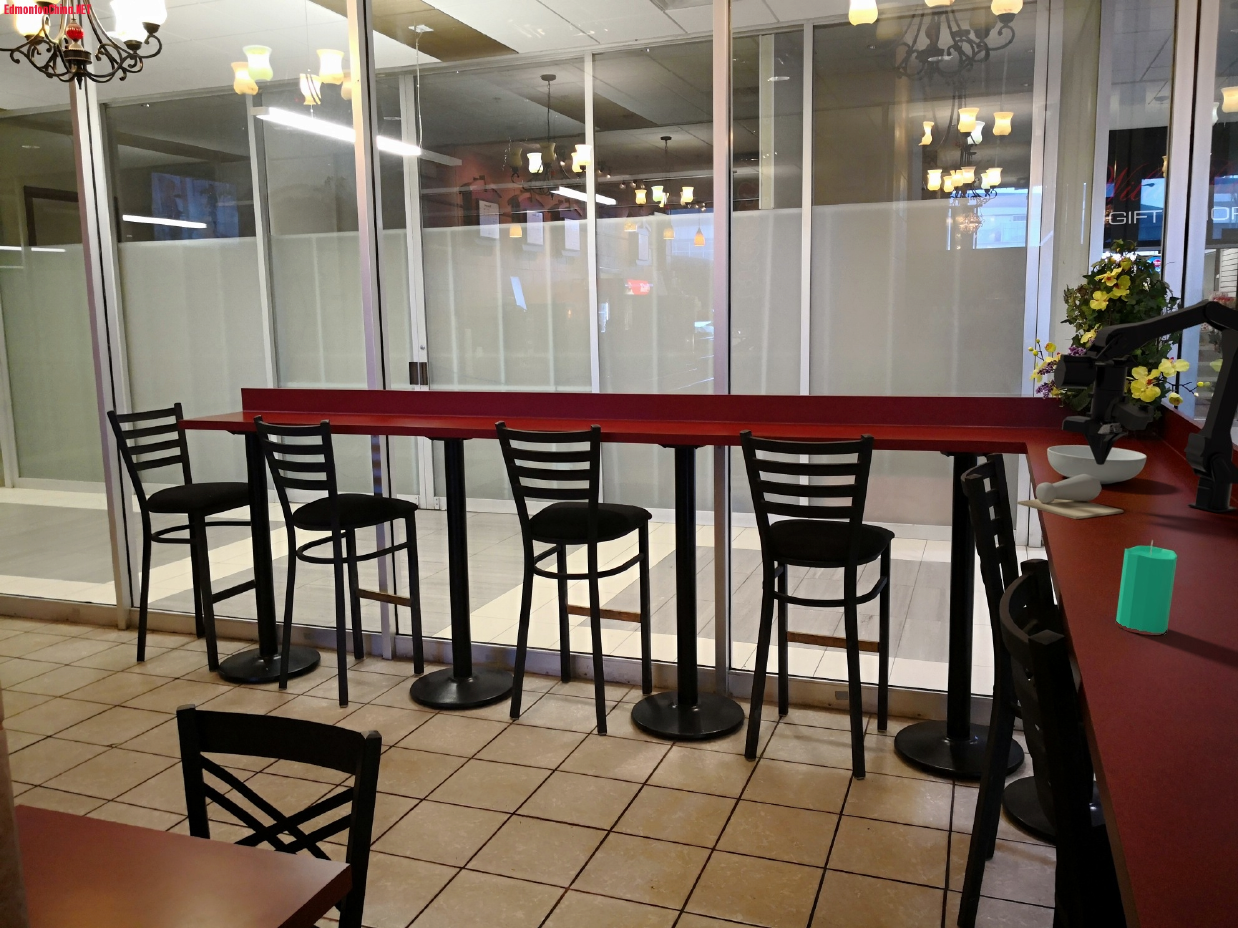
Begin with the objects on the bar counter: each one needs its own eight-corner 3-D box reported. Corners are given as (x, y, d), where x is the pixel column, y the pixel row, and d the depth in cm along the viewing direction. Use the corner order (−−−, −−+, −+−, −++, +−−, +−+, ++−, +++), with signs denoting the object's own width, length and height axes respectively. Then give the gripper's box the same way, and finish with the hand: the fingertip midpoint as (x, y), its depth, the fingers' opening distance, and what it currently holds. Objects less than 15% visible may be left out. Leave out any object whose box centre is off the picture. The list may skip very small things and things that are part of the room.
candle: (1150, 620, 131) (1161, 534, 129) (1176, 636, 125) (1189, 546, 123) (1106, 619, 131) (1117, 534, 128) (1131, 635, 125) (1142, 546, 123)
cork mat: (1063, 498, 206) (1063, 495, 206) (1123, 512, 194) (1123, 510, 194) (1017, 503, 200) (1017, 501, 200) (1075, 519, 187) (1076, 516, 187)
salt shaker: (1105, 500, 198) (1051, 508, 195) (1086, 500, 204) (1033, 507, 201) (1102, 472, 198) (1047, 479, 195) (1083, 472, 204) (1029, 479, 201)
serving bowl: (1121, 473, 236) (1124, 445, 234) (1159, 491, 215) (1163, 461, 214) (1032, 469, 238) (1035, 442, 236) (1062, 487, 217) (1065, 457, 216)
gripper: (1114, 395, 185) (1105, 475, 187) (1175, 392, 193) (1166, 468, 196) (1064, 389, 194) (1056, 465, 197) (1125, 386, 203) (1116, 459, 206)
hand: (1100, 464), depth 199 cm, fingers closed
